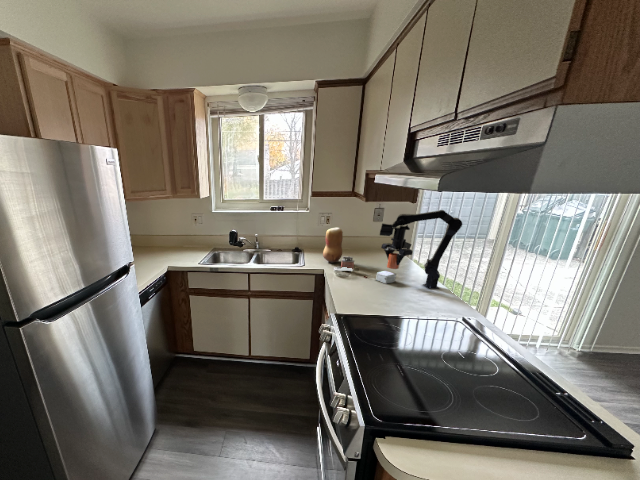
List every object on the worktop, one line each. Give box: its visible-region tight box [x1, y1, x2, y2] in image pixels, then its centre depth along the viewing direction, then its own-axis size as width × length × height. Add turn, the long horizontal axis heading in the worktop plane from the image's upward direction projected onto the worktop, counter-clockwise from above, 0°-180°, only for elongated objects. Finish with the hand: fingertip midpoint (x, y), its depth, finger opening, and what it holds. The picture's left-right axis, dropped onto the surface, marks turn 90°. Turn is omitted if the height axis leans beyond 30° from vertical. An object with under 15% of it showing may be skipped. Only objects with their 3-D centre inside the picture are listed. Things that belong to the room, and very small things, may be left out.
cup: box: [386, 252, 401, 270], centre depth 187 cm, size 6×6×8 cm
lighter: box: [340, 255, 355, 270], centre depth 211 cm, size 8×3×10 cm, turn 74°
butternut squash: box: [322, 227, 344, 263], centre depth 228 cm, size 14×13×25 cm
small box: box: [375, 270, 397, 285], centre depth 192 cm, size 8×8×5 cm
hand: (393, 263), depth 187 cm, fingers closed on cup, 6 cm apart
